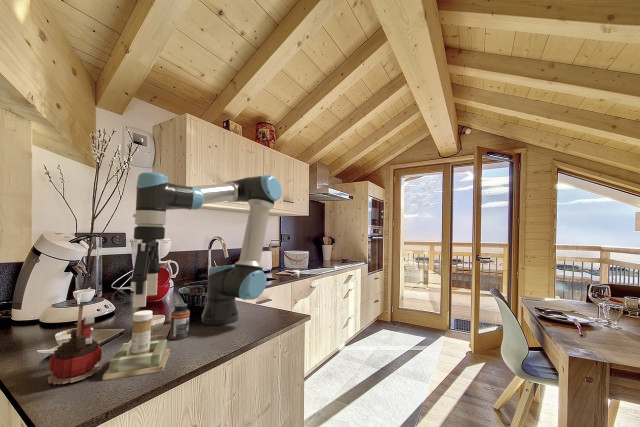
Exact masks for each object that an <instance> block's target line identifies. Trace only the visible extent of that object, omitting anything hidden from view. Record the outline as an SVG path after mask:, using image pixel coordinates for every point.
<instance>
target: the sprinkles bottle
mask: <svg viewBox="0 0 640 427" xmlns="http://www.w3.org/2000/svg"><path fill="white" fill-rule="evenodd" d="M152 319H153V310H147V309H146V310H139V311H136V312H134V313H133V314H132V332H131V343H130V344H131V355H138V354H146V353H149V350H150V341H152V340H151V338H152V337H151V336H152V334H151V333H152Z"/></svg>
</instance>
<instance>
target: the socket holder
mask: <svg viewBox="0 0 640 427" xmlns="http://www.w3.org/2000/svg"><path fill="white" fill-rule="evenodd" d="M167 343H168V339H160V340H150V350H149V353H146V354H138V355H131V343H124V344H123V345H122V346H121V347H120V348H119V350H118V351H116V353H115V354H114V355H113V357H112V358H111V359H110V360H109V366H108V369H107V370H105V372H104V373H103V374H102V381H107V380H113V379H114V380H115V379H121V378H127V377H128V378H129V377H133V376H134V377H135V376H140V375H147V374H153V373H161V372H163V371H164V369H165V366H166V364H167V361H168V358H169V356H170V354H171V348H167V346H168V344H167Z"/></svg>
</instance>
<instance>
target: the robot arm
mask: <svg viewBox="0 0 640 427" xmlns="http://www.w3.org/2000/svg"><path fill="white" fill-rule="evenodd" d="M135 189H136V194H135V195H136V198H135V199H136V200H135V213H133V214H132V217H133V218H134V224H135V225H136V226H135V227H134V228H133V239H134V240H137V241H138V240H141V243H140V242H139V243H137V249H136V250H137V252H136V256H135V260H134V261H135V262H134V266H133V267H134V268H133V270H132V271H133V272H132V277H131V278H130V280H129V281H130V283H133V295H132V296H133V299H132V308H144V307H146V306H147V297H148V296H157V294H158V277H159V276H158V274H160V273H162V272H161V271H162V270H161V269H160V268H161V267H160V254H159V252H160V251H159V246H160V243H159V241H157V240H164V239H165V237H166V236H165V234H166V228H165V227H164V226H165V225H166V224H167V223H166V222H167V220H166V219H167V210H169V211H170V210H189V211H190V210H191V211H193V210H195V211H196V210H199V209H200V208H201V207H202V206H203V205H208V204H214V203H220V202H228V203H235V202H239V203H240V202H241V203H244V202H245V203H247V204H248V205H249V212H248V215H247V220H246V221H247V222H246V226H245V231H244V236H243V241H242V245H241V251H240V254H239V255H240V256H239V259H238V261H236V262H235V263H234V264H229V265H218V266H212V267H210V268H209V269H208V274H207V289H206V291H207V292H206V293H207V294H206V304H205V306H204V309H203V311H202V313H201V319H200V320H201V323H202V324H204V325H210V326H220V325H228V324H231V323H234V322H236V321H238V320H239V316H240V312H239V308H238V305H237V301H236V299H241V300H244V301H245V300H246V301H247V300H251V301H252V300H255V299H256V300H257V299H258V298H259V297H260V296H262V294H263V292H264V291H265V289H266V285H267V277H266V274H265V273H264V271H263V269H264V267H263V265H262V264H261V260H262V253H263V249H264V248H263V247H264V245H265V244H264V243H265V238H266V232H267V226H268V221H269V217H270V216H269V215H270V210H271V209H273V208H274V207H275V202H276V201H278V200H280V199H281V197H282V186H281V184H280V181H279V179H278V178H277V177H276V176H274V175H272V174H263V175H258V176H249V177H244V178H240V179H239V178H238V179H236V180H235V179H234V180H228V181H226V182H225V183H218V184H207V185H206V184H204V185H193V186H187V185H181V184H176V183H175V184H174V183H170V182H169V178H168V176H167V175H166V174H162V173H160V172H153V171H151V172H147V171H146V172H141V173H139V174H138V176H137V182H136V187H135Z"/></svg>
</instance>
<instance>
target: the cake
mask: <svg viewBox="0 0 640 427" xmlns="http://www.w3.org/2000/svg"><path fill="white" fill-rule="evenodd" d="M83 310H84V303H79V304H78V316H77V325H76V328H74V329H71V331H70V338H69V339H68V341H66V342H62V344H61V345H60V346H58V347H57V349H55V350H54V353H53V354H52V356H49V362H48V363H49V364H48V369H49V372H50V373H51V372H52V373H51V374H50V375H49V376H47V381H48V384H53V385H64V384H67V383H70V384H71V383H74V382H76V383H77V382H78V381H81V380H85V379H86V378H89V377H91V376H93V375H94V374H96V373H98V370H100V364H98V362H101V360H102V347H101V346H100V343H99V342H98V341H97V340H95V339H94V338H93V336H92V334H91V333H92V332H91V330H92V329H91V326H92V324H94V323H95V315H90V316H85V317H83Z"/></svg>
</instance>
